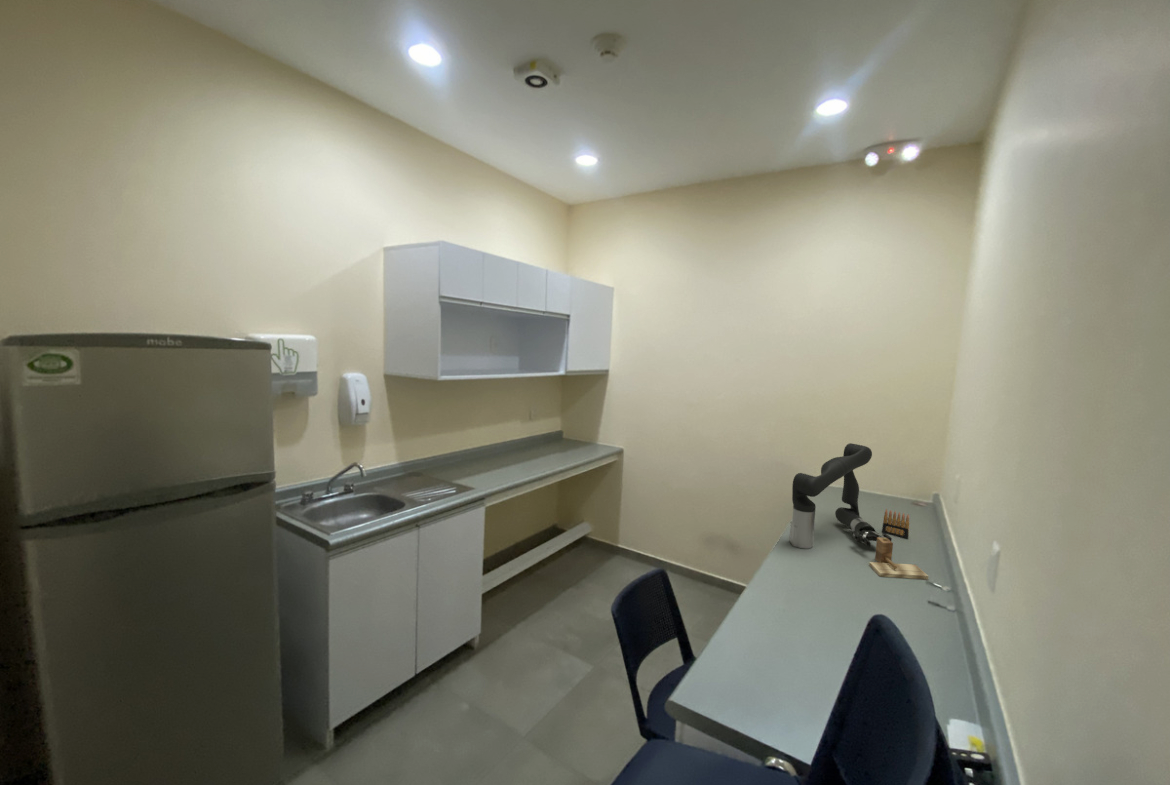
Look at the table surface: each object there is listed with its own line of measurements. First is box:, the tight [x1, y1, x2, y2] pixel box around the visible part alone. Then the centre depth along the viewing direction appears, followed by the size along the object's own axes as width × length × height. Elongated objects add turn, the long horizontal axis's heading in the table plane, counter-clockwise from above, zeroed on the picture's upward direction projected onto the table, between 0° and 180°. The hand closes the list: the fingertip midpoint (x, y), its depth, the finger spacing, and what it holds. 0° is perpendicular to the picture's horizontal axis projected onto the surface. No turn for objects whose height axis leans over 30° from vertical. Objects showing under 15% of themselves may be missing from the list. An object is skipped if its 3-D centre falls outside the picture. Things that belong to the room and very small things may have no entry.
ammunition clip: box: [881, 508, 910, 540], centre depth 225 cm, size 11×2×12 cm, turn 46°
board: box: [868, 561, 929, 581], centre depth 191 cm, size 18×9×2 cm, turn 83°
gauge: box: [874, 537, 897, 569], centre depth 195 cm, size 4×12×11 cm, turn 173°
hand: (879, 544), depth 202 cm, fingers open, 8 cm apart
